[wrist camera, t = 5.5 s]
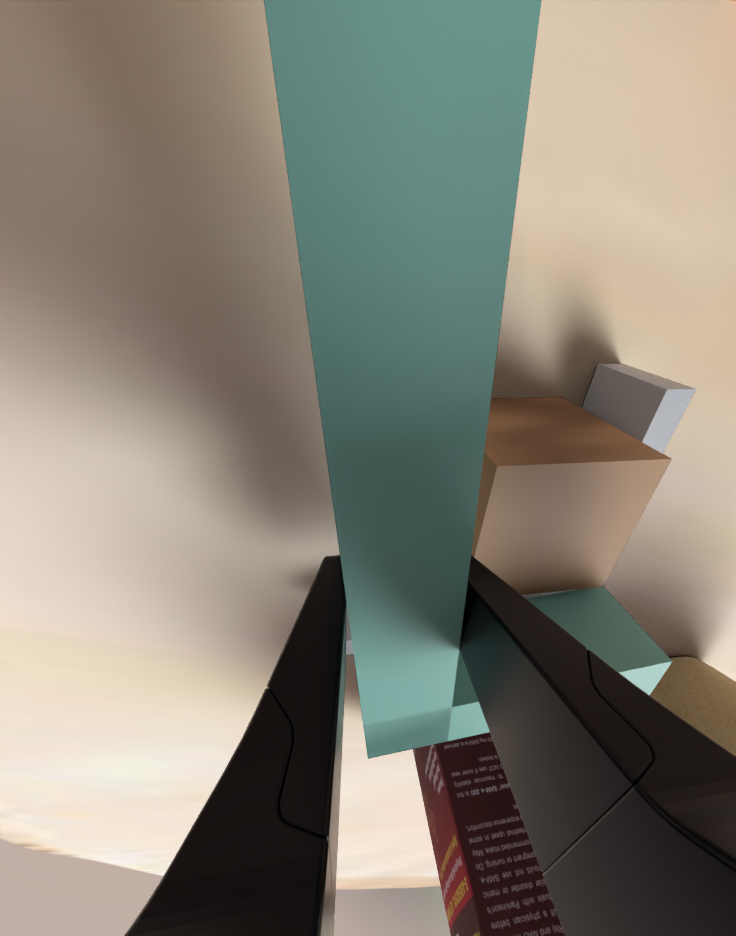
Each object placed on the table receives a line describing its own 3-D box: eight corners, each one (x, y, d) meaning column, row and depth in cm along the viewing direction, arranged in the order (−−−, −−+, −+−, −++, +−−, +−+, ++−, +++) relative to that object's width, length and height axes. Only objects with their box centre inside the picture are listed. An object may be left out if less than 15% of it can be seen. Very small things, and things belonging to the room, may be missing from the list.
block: (560, 396, 14) (671, 459, 10) (526, 500, 16) (602, 587, 12) (436, 398, 13) (497, 466, 9) (421, 506, 16) (463, 600, 11)
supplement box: (407, 650, 21) (583, 1364, 7) (485, 639, 22) (781, 1286, 8) (403, 722, 25) (508, 1249, 12) (468, 710, 26) (638, 1203, 12)
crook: (867, -52, 5) (1325, -303, 3) (587, 620, 14) (648, 697, 11) (256, -67, 4) (201, -456, 2) (355, 664, 13) (368, 758, 10)
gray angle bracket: (645, 363, 13) (724, 388, 11) (553, 578, 19) (590, 627, 17) (326, 364, 12) (331, 393, 9) (332, 598, 18) (336, 656, 15)
